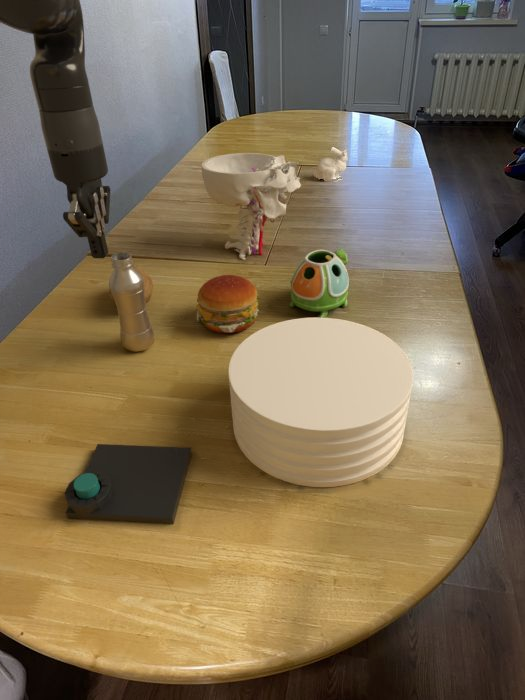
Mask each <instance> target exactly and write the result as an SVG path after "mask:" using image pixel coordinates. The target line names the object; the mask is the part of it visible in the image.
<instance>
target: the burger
mask: <svg viewBox="0 0 525 700" xmlns="http://www.w3.org/2000/svg"><path fill="white" fill-rule="evenodd" d="M196 302H197V304H196V308H197V311H196V321H197V322H200V320H201V322H202V323H203V325H204V326H205V327H206V328H207V329H208V330H210V331H213V332H216V333H218V334H219V333H222V334H233V333H240V332H242V331H245V330H247V329H249V328H250V327H251V326H253V324H254V323H255V322H256V320H257V317H258V315H259V314H260V311H259V310H260V305H259V295H258V289H257V288H256V286H255V284H253V283H252V282H251V281H250V280H248V279H246V278H245V277H243V276H239V275H235V274H223V275H218V276H215V277H213V278H210V279H208V280H207V281H205V283H203V284H202V285H201V287H200V288H199V290H198V293H197V298H196Z"/></svg>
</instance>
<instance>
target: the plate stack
mask: <svg viewBox="0 0 525 700" xmlns="http://www.w3.org/2000/svg"><path fill="white" fill-rule="evenodd" d="M228 363H229V364H228V371H227V372H228V374H227V375H228V383H229V394H230V407H231V419H232V428H233V434H234V438H235V441H236V443H237V445H238V448H239V449H240V450H241V452H242V453H243V454H244V456H245V457H246V459H248V460H249V461H250V462H251V463H252V464H253V465H254V466H256V467H257V468H258V469H259V470H261V471H262V472H264V473H266V474H268V475H269V476H271V477H273V478H275V479H278V480H281V481H283V482H285V483H290V484H293V485H298V486H302V487H311V488H335V487H343V486H347V485H351V484H355V483H358V482H362V481H364V480H367V479H369V478H371V477H373V476H375V475H376V474H378V473H379V472H382V471H383V470H384V469H385V468H386V467H388V466H389V464H390V463H391V462H392V461H393V460H394V459H395V458H396V457H397V454H398V453H399V451H400V449H401V447H402V445H403V444H402V443H403V441H404V435H405V429H406V425H407V418H408V412H409V408H410V407H409V406H410V401H411V397H412V396H411V395H412V390H413V384H414V371H413V370H414V369H413V366H412V362H411V361H410V359H409V357H408V355H407V354H406V353H405V351H404V350H403V349H402V347H401V346H400V345H399V344H398V343H396V342H395V341H394V340H393V339H391V338H390V337H389V336H387V335H385V334H384V333H382V332H381V331H378V330H377V329H374V328H372V327H370V326H367V325H365V324H361V323H358V322H353V321H350V320H346V319H340V318H332V317H326V318H318V317H300V318H293V319H288V320H283V321H279V322H276V323H273V324H269V325H268V326H265V327H262V328H261V329H258V330H257V331H255V332H254V333H252V334H250V335H249V336H248V337H246V338H245V339H243V341H242V342H241V343H239V345H238V346H236V348H235V350H234V351H233V353H232V355H231V357H230V360H229V362H228Z"/></svg>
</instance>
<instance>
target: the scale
mask: <svg viewBox="0 0 525 700" xmlns="http://www.w3.org/2000/svg"><path fill="white" fill-rule="evenodd" d="M192 455H193V452H192V447H184V446H183V447H181V446H160V445H158V446H157V445H156V446H155V445H131V444H109V443H107V444H105V443H97V444H96V447H95V448H94V451H93V453H92V455H91V457H90V459H89V462H88V464H87V466H86V468H85V470H84V472H83V474H86V473H92V474H94V475H96V477H97V479H98V482H99V485H100V490H99V492H98V493H97V494H96V495H95V496H94V497H92V498H90V499H81V498H79V497H78V496H77V494H76V491H75V489H74V481H75V480H76V479H77V478H78V477H79V476H80V475H81V474H79V475H77V476H76V477H75V478H73V479H72V480H71V481H70V482H69V483H68V485H67V487H66V488H65V491H64V497H65V501H66V504H67V508H66V511H65V516H66V517H67V519H68V520H84V521H85V520H86V521H103V522H120V523H140V524H141V523H142V524H160V525H174V524H175V520H176V517H177V513H178V509H179V506H180V501H181V497H182V494H183V489H184V486H185V482H186V478H187V475H188V470H189V467H190V466H189V465H190V462H191V459H192Z"/></svg>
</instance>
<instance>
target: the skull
mask: <svg viewBox="0 0 525 700" xmlns="http://www.w3.org/2000/svg"><path fill="white" fill-rule="evenodd" d="M298 165H299V162H298V161H286V158H285V155H282V154H279V155H278V156H275V155H271V154H267V153H266V154H265V153H259V152H258V153H257V152H239V153H237V152H236V153H235V152H234V153H227V154H220V155H215V156H212V157H210V158H207V159H205V160H204V161H203V162H202V163H201V176H202V179H203V184H204V187H205V190H206V192H207V194H208V196H209V197H210V198H211V200H213V202H215V203H217V204H218V205H219V204H222V205H224V206H227V207H231V208H239V211H238V212H237V214H236V218H237V219H239V220H238V224H237V225H236V228H235V230H236V232H239V233H240V234H230V235H229V238H230V239H234V240H236V241H235V242H230V241H229V240H228V241H226V242H225V244H224V248H225V249H226V250H229V249H230V248H234V251H236V252H238V253H239V254H238V258H239V259H241V260H243V261H244V260H247V258H246V255H247V256H251V255H255V256H256V255H257V254H259V256H263V255H264V253H263V248H262V247H264V242H263V239H264V229H265V224H266V222H267V220H268V219H269V221H270V222H271V223H272V224H273V223H275V219H277V217H279V218H280V219H281V217H282V216H284V217H285V216H286V213H287V200H288V199H287V198H288V196H287V195H286V194H285V193H288V194H291V193H293V192H295V191H296V190H298V189H300V188H301V187H302V184H301V182H300V179H301V177H299V176H297V175H296V168H297V166H298ZM243 206H244V207H243ZM242 216H243V217H242ZM237 240H238V241H237ZM235 248H236V249H235ZM257 251H258V253H257Z"/></svg>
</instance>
